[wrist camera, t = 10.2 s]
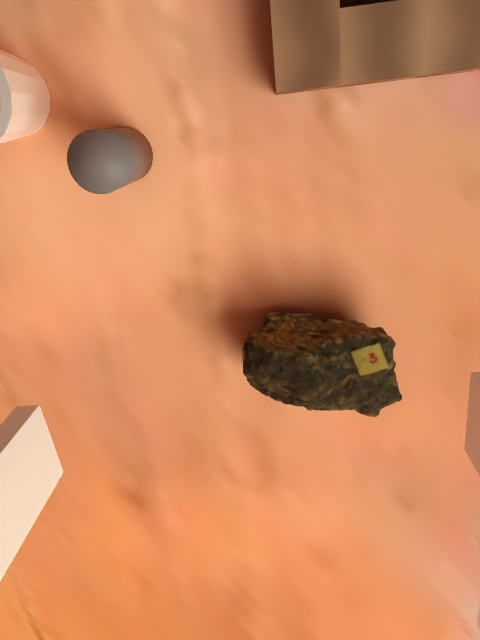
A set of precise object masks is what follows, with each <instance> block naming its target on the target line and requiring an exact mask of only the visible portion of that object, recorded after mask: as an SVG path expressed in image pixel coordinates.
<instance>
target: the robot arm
mask: <svg viewBox="0 0 480 640" xmlns="http://www.w3.org/2000/svg"><path fill="white" fill-rule="evenodd" d="M465 451H466V453H467V455H468V456H469V458H470V460H471V462H472V463H473V465H474V467H475V468H476V470H477V472H478V474H479V475H480V372H473V373H471V378H470V390H469V402H468V414H467V425H466V437H465ZM62 474H63V469H62V467H61V464H60V461H59V458H58V456H57V453H56V450H55V447H54V444H53V442H52V439H51V436H50V433H49V430H48V428H47V425H46V422H45V419H44V416H43V414H42V411H41V408H40V405H31V406H18V407H16V408H15V409H14V410H13V411H12V413H11V414H10V415H9V416H8V417H7V418H6V419H5V421H4V422H3V423H2V424H1V425H0V581H1V579H2V577H3V576H4V574H5V572H6V570H7V569H8V567H9V565H10V564H11V562H12V560H13V558H14V557H15V555H16V553H17V551H18V550H19V548H20V546H21V545H22V543H23V541H24V539H25V538H26V536H27V534H28V533H29V531H30V529H31V527H32V526H33V524H34V522H35V521H36V519H37V517H38V515H39V514H40V512H41V510H42V509H43V507H44V505H45V503H46V502H47V500H48V498H49V497H50V495H51V493H52V491H53V490H54V488H55V486H56V485H57V483H58V481H59V479H60V478H61V476H62Z"/></svg>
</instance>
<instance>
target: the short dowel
mask: <svg viewBox="0 0 480 640" xmlns="http://www.w3.org/2000/svg"><path fill="white" fill-rule="evenodd" d="M152 161H153V153H152V148H151V145H150V143H149V141H148V140H147V139H146V137H145V136H144V135H143V134H142V133H140V132H139V131H137V130H135V129H132V128H126V127H125V128H112V129H99V130H89V131H85V132H82V133H80V134H79V135H77V136H76V137H75V138H74V139H73V141H72V142H71V144H70V146H69V149H68V153H67V163H68V167H69V171H70V173H71V175H72V177H73V178H74V180H75V181H76V182H77V183H78V184H79V185H80V186H81V187H82V188H84V189H85V190H87V191H89V192H92V193H95V194H107V193H110V192H113V191H115V190H117V189H119V188H121V187H123V186H125V185H128V184H130V183H132V182H134V181H136V180H138V179H140V178H142V177H143V176H145V175H146V174H147V173H148V171H149V170H150V168H151V165H152Z"/></svg>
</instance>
